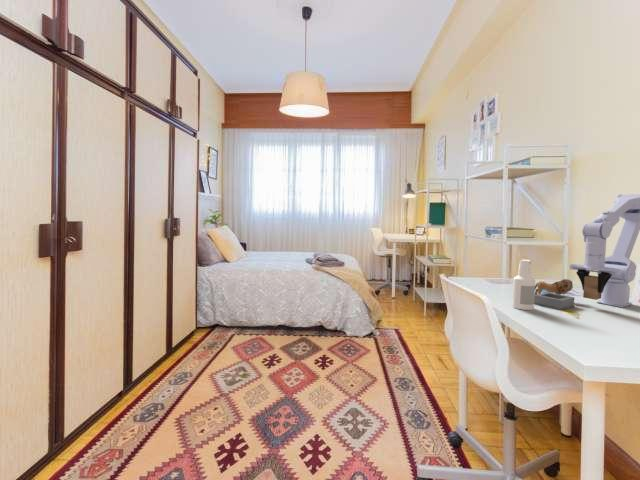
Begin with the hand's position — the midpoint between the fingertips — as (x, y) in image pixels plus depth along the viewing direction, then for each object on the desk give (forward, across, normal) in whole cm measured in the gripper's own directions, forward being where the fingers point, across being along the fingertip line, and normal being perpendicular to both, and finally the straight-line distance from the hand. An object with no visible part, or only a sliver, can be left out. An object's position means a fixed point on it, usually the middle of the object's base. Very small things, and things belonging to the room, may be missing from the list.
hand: (592, 291), depth 119 cm
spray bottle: (+6, -13, -22) cm, 26 cm away
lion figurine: (+7, -14, +2) cm, 16 cm away
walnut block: (+2, 0, 0) cm, 3 cm away
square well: (+6, -9, -8) cm, 14 cm away
